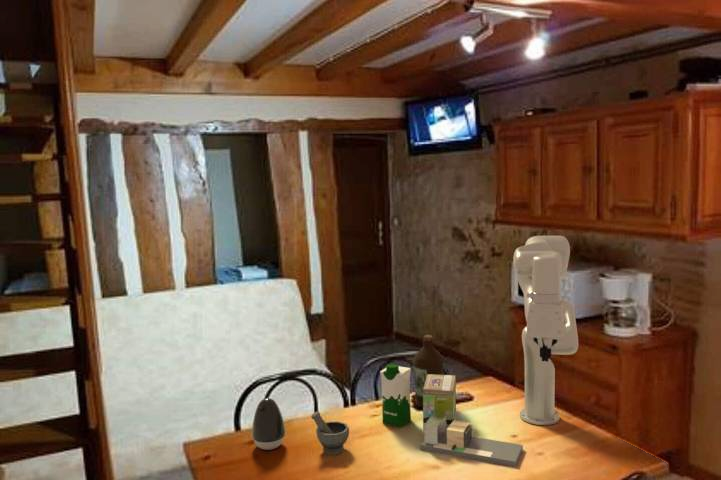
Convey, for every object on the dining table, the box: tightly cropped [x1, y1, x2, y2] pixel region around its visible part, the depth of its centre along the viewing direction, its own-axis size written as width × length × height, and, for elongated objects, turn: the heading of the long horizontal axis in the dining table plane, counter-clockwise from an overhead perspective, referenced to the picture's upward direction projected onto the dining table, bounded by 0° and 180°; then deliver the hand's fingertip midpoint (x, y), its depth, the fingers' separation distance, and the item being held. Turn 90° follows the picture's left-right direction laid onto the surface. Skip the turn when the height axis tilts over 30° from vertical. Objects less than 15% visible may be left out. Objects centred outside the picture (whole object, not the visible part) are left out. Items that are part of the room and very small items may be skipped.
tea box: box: [422, 374, 457, 434], centre depth 193 cm, size 15×10×15 cm, turn 168°
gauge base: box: [420, 434, 524, 468], centre depth 176 cm, size 11×28×2 cm, turn 65°
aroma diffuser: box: [251, 397, 286, 451], centre depth 182 cm, size 10×10×15 cm
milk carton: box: [379, 363, 412, 429], centre depth 196 cm, size 9×9×20 cm
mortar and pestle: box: [310, 411, 350, 455], centre depth 178 cm, size 11×9×12 cm
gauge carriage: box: [447, 419, 473, 450], centre depth 176 cm, size 10×6×5 cm, turn 155°
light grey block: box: [423, 414, 447, 446], centre depth 180 cm, size 9×4×6 cm, turn 155°
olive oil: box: [412, 334, 444, 407], centre depth 210 cm, size 11×11×25 cm
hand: (545, 360), depth 172 cm, fingers closed
